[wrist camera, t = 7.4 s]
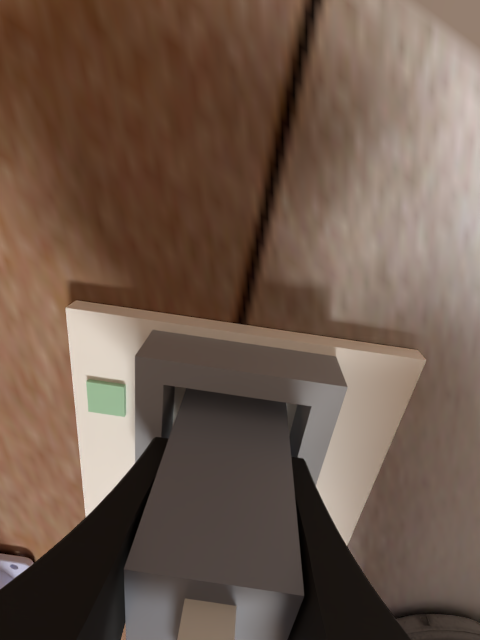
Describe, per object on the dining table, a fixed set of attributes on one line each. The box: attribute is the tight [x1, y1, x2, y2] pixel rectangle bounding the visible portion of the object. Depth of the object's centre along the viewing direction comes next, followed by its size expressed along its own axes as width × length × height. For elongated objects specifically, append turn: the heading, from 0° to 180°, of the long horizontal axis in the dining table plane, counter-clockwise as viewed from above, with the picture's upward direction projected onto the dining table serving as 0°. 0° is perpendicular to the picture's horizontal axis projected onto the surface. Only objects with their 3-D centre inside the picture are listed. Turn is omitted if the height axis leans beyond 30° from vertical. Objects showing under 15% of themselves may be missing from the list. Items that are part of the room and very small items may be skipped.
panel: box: [66, 300, 426, 546], centre depth 17 cm, size 14×20×3 cm
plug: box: [124, 388, 304, 640], centre depth 11 cm, size 4×4×8 cm
